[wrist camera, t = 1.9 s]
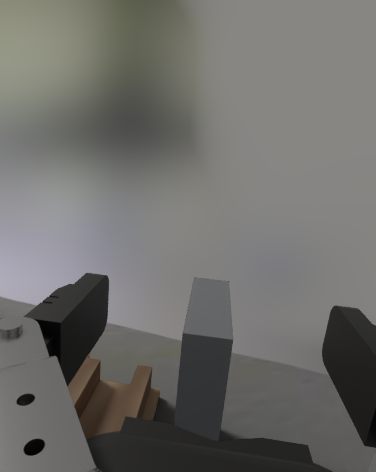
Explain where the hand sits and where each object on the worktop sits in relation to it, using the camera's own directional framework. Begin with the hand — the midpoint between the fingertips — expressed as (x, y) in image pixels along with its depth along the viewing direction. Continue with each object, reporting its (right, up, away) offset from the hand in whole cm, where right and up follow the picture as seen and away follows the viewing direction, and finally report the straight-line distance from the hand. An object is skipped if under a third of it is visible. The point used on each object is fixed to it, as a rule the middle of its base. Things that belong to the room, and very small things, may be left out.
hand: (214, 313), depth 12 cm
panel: (-1, -16, +16) cm, 23 cm away
